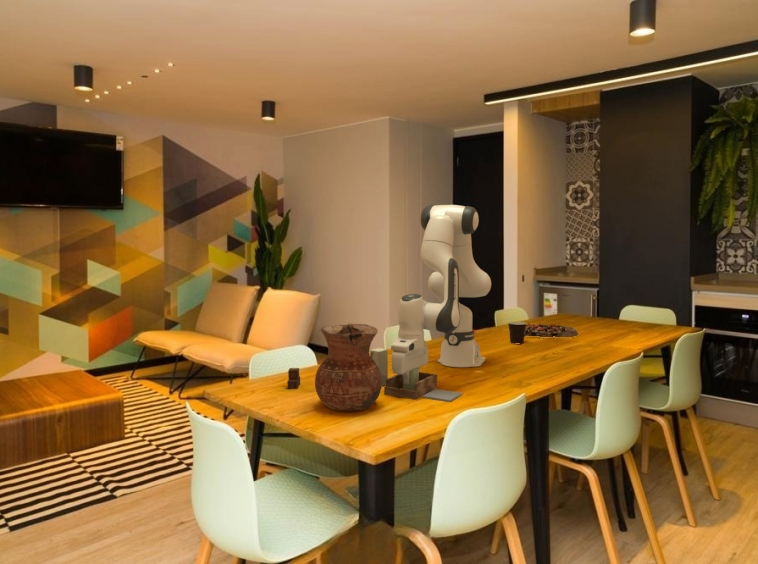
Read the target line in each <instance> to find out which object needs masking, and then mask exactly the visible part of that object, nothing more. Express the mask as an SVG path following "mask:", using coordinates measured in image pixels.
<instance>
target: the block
mask: <svg viewBox="0 0 758 564" xmlns="http://www.w3.org/2000/svg"><path fill="white" fill-rule="evenodd" d="M419 372H420V370H419V368H416V369H414V370H411V371H409V378H411V380H410V381H411V382H410V383H409V384H405V383H404V378H403V387H402V389H406V390H412V391H414V387H415V383H416V382H418V381H419Z"/></svg>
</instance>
